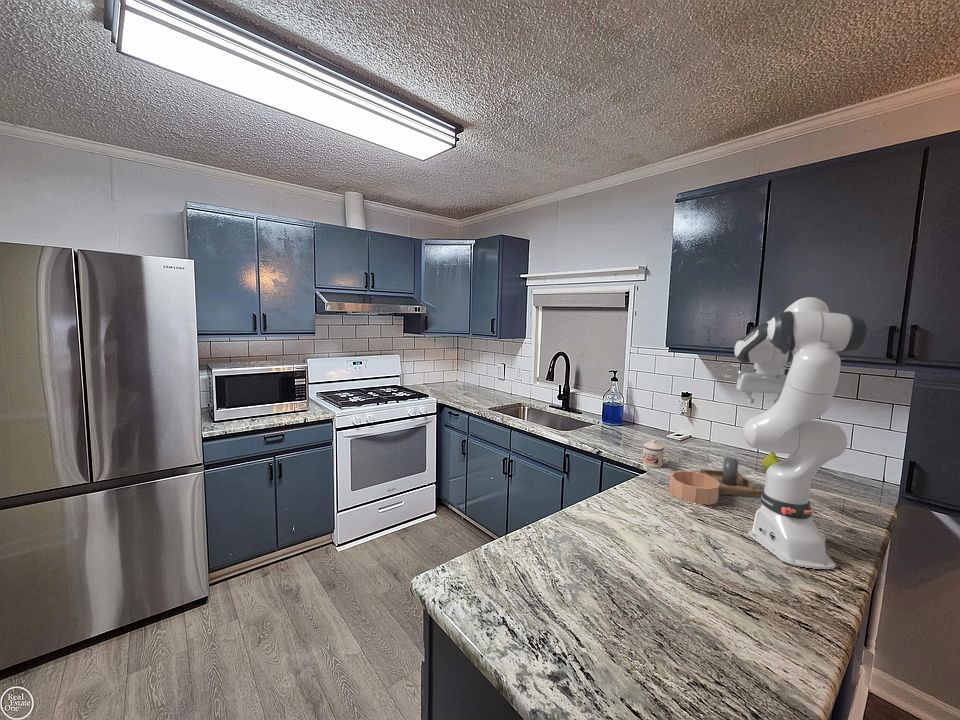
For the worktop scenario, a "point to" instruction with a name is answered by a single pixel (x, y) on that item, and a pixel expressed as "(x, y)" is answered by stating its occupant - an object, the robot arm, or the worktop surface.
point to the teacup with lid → (653, 454)
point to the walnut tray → (740, 489)
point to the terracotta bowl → (694, 487)
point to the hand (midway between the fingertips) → (763, 403)
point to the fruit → (769, 460)
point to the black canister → (730, 471)
